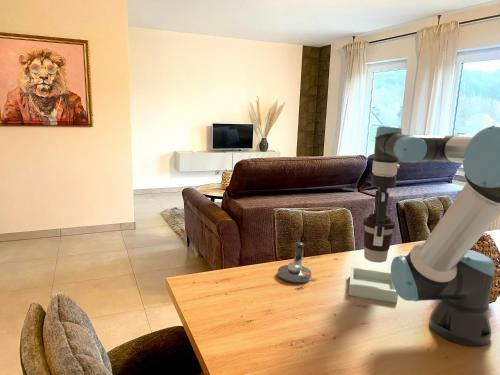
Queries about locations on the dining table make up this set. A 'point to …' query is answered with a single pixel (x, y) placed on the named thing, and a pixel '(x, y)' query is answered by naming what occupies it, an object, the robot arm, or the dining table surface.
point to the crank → (297, 259)
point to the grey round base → (295, 275)
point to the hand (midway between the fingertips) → (377, 240)
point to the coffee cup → (371, 250)
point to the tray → (372, 284)
